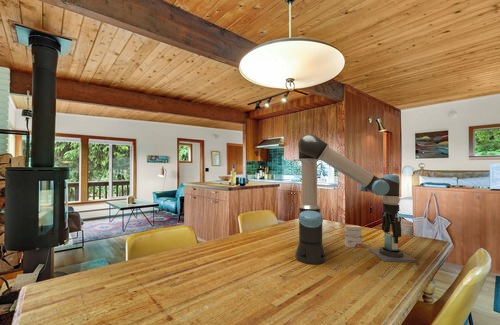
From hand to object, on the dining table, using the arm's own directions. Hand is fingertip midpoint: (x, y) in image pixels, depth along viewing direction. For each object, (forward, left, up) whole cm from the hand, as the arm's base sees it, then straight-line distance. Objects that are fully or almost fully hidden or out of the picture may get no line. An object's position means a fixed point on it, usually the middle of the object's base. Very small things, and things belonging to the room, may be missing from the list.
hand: (391, 246), depth 130 cm
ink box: (-14, +15, -5) cm, 21 cm away
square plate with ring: (0, 0, -5) cm, 5 cm away
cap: (0, 0, -1) cm, 1 cm away
